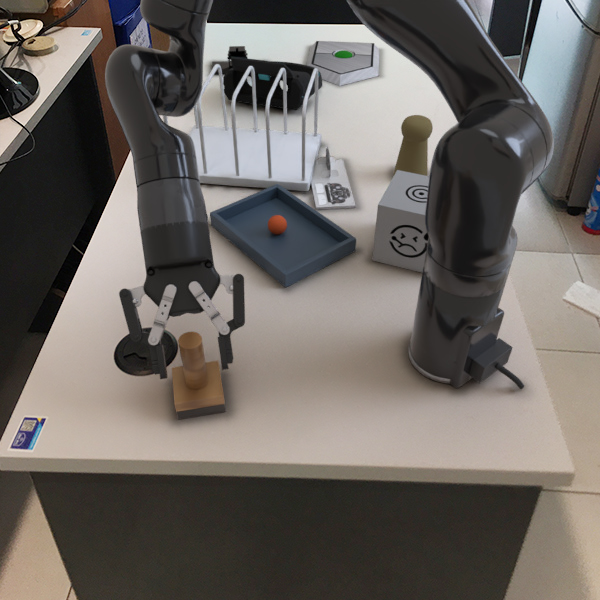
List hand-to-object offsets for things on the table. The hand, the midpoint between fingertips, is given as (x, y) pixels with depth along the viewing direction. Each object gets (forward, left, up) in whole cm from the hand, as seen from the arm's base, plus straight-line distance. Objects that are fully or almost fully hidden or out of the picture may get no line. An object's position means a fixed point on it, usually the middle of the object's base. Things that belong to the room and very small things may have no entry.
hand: (195, 373), depth 70 cm
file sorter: (+42, -37, -6) cm, 57 cm away
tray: (+20, -28, -6) cm, 35 cm away
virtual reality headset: (+62, -59, -7) cm, 86 cm away
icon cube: (+5, -42, -7) cm, 43 cm away
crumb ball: (+21, -28, -4) cm, 35 cm away
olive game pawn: (+20, -57, -7) cm, 61 cm away
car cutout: (+27, -44, -7) cm, 52 cm away
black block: (+79, -60, -7) cm, 99 cm away
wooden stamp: (+1, -1, -6) cm, 7 cm away
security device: (+64, -80, -7) cm, 103 cm away
